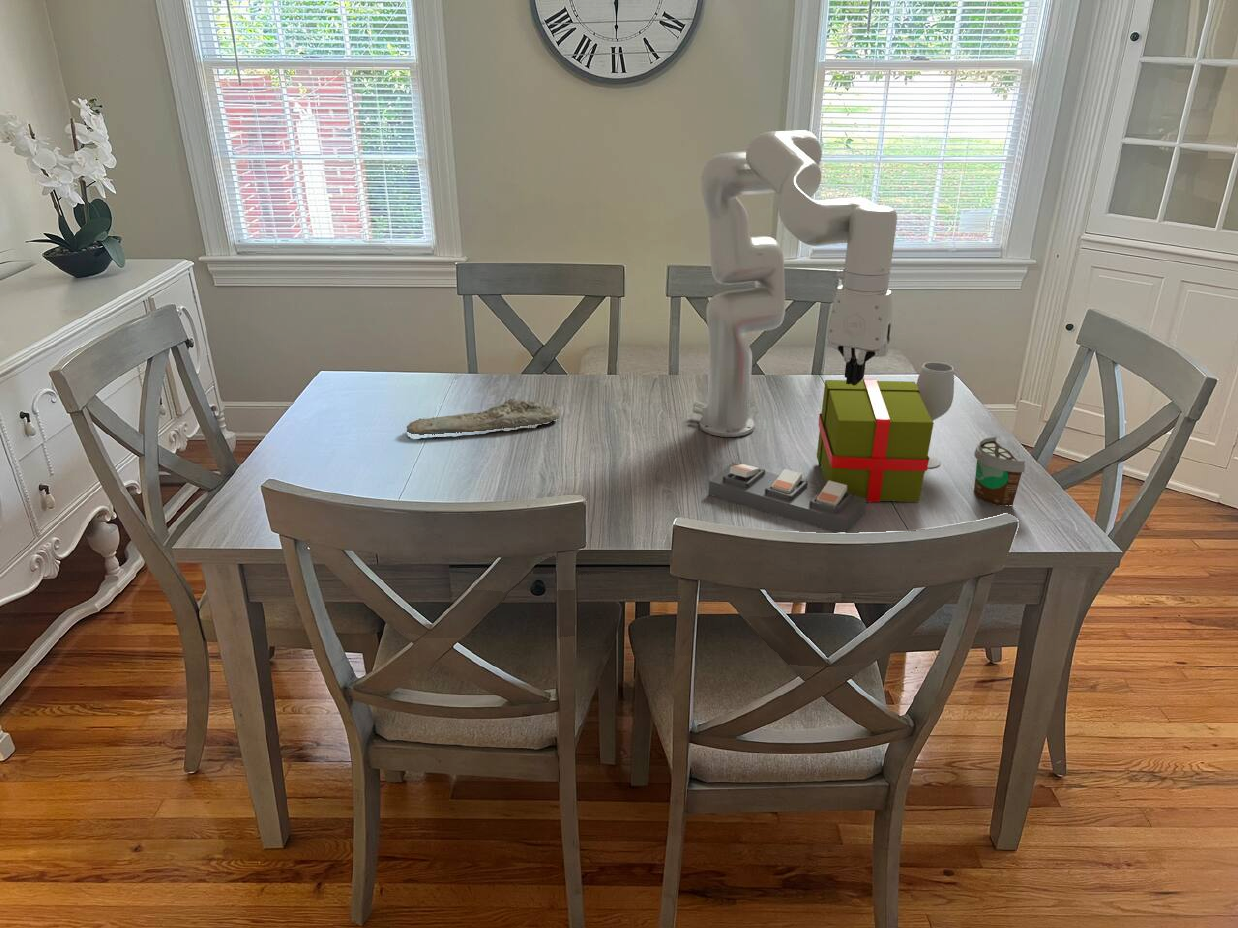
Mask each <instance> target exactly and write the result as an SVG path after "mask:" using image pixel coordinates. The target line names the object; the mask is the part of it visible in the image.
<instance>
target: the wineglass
mask: <svg viewBox="0 0 1238 928" xmlns="http://www.w3.org/2000/svg"><path fill="white" fill-rule="evenodd" d="M915 383H916V385H917V387H918V389H919V395H920V397H921V399H922V401H923V403H924V405H925V407H926V409H927V411H928V413H929V415H930V417H931V419H932V421H933V422H934V421H936V420H937V419H939V418H941V417H942V416H944V415H945V414H947V412H948V411H949V409H951V407H952V404H953V400H954V394H955V370H954V366H952V365H951V364H948V363H945V362H939V361H930V362H925V363H923V364H922V366H921V369H920V371H919V375H918V377H917V380H916V382H915ZM928 457H929V462H928V468H927V469H935V468H938V467H940V466H941V464H942V462H941V460H940V458H938V457H936V456H935V455H932V454H929V453H928Z"/></svg>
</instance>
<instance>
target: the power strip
mask: <svg viewBox="0 0 1238 928" xmlns="http://www.w3.org/2000/svg"><path fill="white" fill-rule="evenodd" d="M740 464H742V462H741V463H736V462H732V463H730V464H729V465H728V466H727V467H725V468H724V469H723V470H721V471H720V472H719V473H718V474H716V475H715V476H714V477H712V478H711V479H709V480H708V494H709V496H711V495H713V497H715V498H719V499H721V500H722V499H723V500H726V501H727V502H728V501H729V502H732V503H734V504H739V505H741V506H746V507H749V508H753V509H755V510H759V511H762V512H767V513H770V514H772V515H776V516H779V517H783V518H787V519H790V520H794V521H796V522H799V523H803V524H807V525H809V526H813V527H817V528H820V529H824V530H827V531H830V532H834V533H837V532H847V533H849V531H850V530H851V529H852V528H853V527H854V526H855V524H856V523H857V522H858V521H859V520H860V519H861V518H862V516H864V514H866V507H867V502H866V500H867V499H866V498H862V497H858V496H855V495H853V493H849V492H846V493H845V494H844V496H843V497H842V499H841V501H840V502H839V504H838V505H837V507H834V506H830V505H826V504H823V503H819V502H817V497H818V496H819V494H820V493H821V491H822V490H823V488H824V487H825V486H820V485H818V484H813V483H809V482H808V480H805V479H801V480H800V482H799V483H798V485H797V486H796V488H795V489H794V490H793V492H792V493H791V494H787V493H784V492H780V491H776V490H773V489H772V485H773V484H774V482H775V481H776V480H777V478H778V477H779V476H780V474H776V473H773V472H769V471H766V470H765V469H763V468H760V467H758V468H759V472H758V474H756V475H753V476H750V477H742V476H739V475H735V474H731V473H729V472H730V467H732V466H735V465H740Z"/></svg>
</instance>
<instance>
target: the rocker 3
mask: <svg viewBox="0 0 1238 928" xmlns="http://www.w3.org/2000/svg"><path fill="white" fill-rule="evenodd" d="M823 487H824V488H823V490H822V491H821V493H820V494H819V496H818V497H817V502H819V503H823V504H826V505H830V506H834V507H837V505H838V504H839V502H840V501H841V499H842V497H843V496H844V494H845V493H846V491H847V485H844V484H841V483H837V482H833V481H828V482H827V484H826V485H824V486H823Z"/></svg>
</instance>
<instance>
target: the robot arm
mask: <svg viewBox="0 0 1238 928" xmlns="http://www.w3.org/2000/svg"><path fill="white" fill-rule="evenodd" d="M821 146H822V145H821V144H820V141H819V139H818V138H817V136H815V135H814V134H813V133H812V132H810V131H808V130H805V129H803V130H802V129H800V130H797V129H796V130H776V131H775V130H772V131H766V132H762V133H760V134H758V135H756V136H755V137H754V138H752V140H751V141H750V142H749V143H748V145H747V147H746V150H745V151H743V150H742V151H732V152H731V151H730V152H725V153H723V152H722V153H720V154H717V155H715V156H712V157H711V158H710V159H709V160H707V162H706V163H705V164H704V167H703V168H702V171H701V177H700V190H701V195H702V196H701V197H702V200H703V204H704V207H705V212H706V215H707V220H708V236H709V253H710V254H709V255H710V257H709V258H710V266H711V267H710V268H711V273H712V277H713V279H714V281H715V282H716V283H718V284H722V285H736V284H737V285H738V284H748V283H754V285H755V288H753V287H752V288H743V289H735V290H728V291H722V292H720V293H717V294H716V295H713V296H712V297H711V299H710V300H709V301H708V303H707V304H706V305H707V306H706V312H705V313H706V323H707V327H708V328H707V330H708V342H709V344H708V345H709V348H708V349H709V350H708V351H709V352H708V353H709V354H708V377H707V378H708V379H707V397H706V399H707V401H706V403H703V402H702V401H694V403H693V405H692V413H693V414H697V415H698V414H699V415H701V416H702V417H701V418H700V420H699V427H700V429H701V430H702V431H703V432H705V433H706V434H708V435H713V436H716V437H721V438H722V437H723V438H737V437H742V436H743V437H744V436H747V435H749V434H750V433H753V431H754V430H755V427H756V426H755V420H753V419H752V418H751V417H750V416H749V412H750V395H751V381H752V368H753V367H752V365H753V352H752V349H751V347H750V345H749V343H747V341H746V339H745V335H748V334H752V333H758V332H765V331H772V330H774V329H775V330H776V329H777V328H778V327H780V326H781V325H782V323H783V321H784V319H785V316H786V289H785V288H786V285H785V284H786V283H785V282H786V281H785V278H786V277H785V260H784V254H783V250H782V248H781V246H780V244H779V242H778V241H777V240H776V239H775V238H773V237H771V236H766V235H765V236H764V235H762V236H761V235H759V236H758V235H757V236H751V235H750V218H749V213H748V212H747V210H746V208H745V206H744V205H743V203H742V202H741V201H740V199H739V198H738V197H737V196H750V195H751V196H752V195H765V194H774V193H776V195H777V196H778V197H777V209H778V215H779V217H780V220H781V221H780V222H781V223H782V224H783V226H784V227H785V228H786V229H787V231H788V232H790V234H792V236H793V237H795V238H796V239H797V240H798V241H800V242H801V243H803V244H804V245H805V244H806V245H807V246H812V247H819V246H827V245H828V246H829V245H836V244H837V245H838V244H839V245H840V244H846V252H845V253H846V254H845V260H844V261H845V263H844V269H841V270H836V273H835V278H836V279H839V280H841V285H838V286H837V288H836V291H835V295H834V297H833V300H832V305H831V310H830V314H829V319H828V324H827V332H826V338H827V346H828V347H830V348H832V349H834V350H838V351H839V353H840V354H841V355H842V357H843V361H844V362H845V369H844V378H846V379H845V380H846V384H852V385H854V386H855V385H856V384H858V383H859V382H860V381H863V379H865V378H864V377H865V369H866V362H868V361H870V360H871V359H872V358H879V357H883V358H885V357H886V356H887V355H889V343H890V339H891V335H892V321H893V298H892V291H891V290H890V289H888V288H889V284H890V283H889V282H890V275H891V267H892V260H893V252H894V245H895V237H896V231H897V230H896V229H897V223H898V215H897V211H896V210H895V209H894V208H892V207H890V206H888V205H879V204H876V203H874V202H872V201H870V200H869V199H867V198H864V197H845V198H841V197H840V198H832V199H831V198H827V199H820V200H814V199H813V198H812V197H813V196H814V195H816V192H817V191H818V189H819V188H820V184H821V181H822V172H821V168H820V164H821V161H822V155H823V154H822V147H821ZM857 350H859V352H858V355H857Z"/></svg>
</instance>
